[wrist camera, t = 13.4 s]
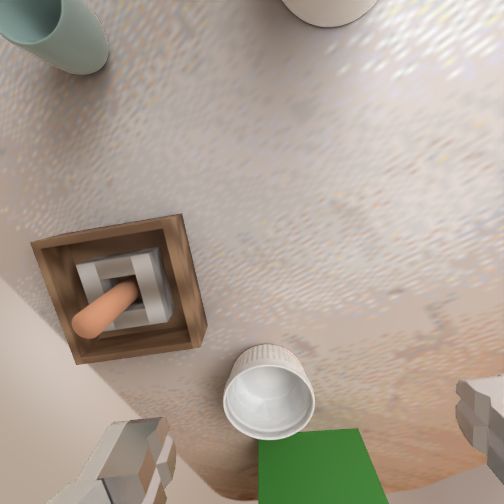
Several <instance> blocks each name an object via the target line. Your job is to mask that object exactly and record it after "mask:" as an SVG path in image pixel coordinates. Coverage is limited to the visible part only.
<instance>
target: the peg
mask: <svg viewBox="0 0 504 504" xmlns="http://www.w3.org/2000/svg"><path fill="white" fill-rule="evenodd" d="M140 295H141V292H140V288H139V285H138V281H137V278H136V275H130V276H129V277H127V278H126V279H124V280H123V281H122V282H120V283H119V284H117V285H116V286H115V287H113V288H112V289H111V290H109V291H108V292H106V293H105V294H104V295H102V296H101V297H99V298H98V299H97V300H95V301H94V302H93V303H91V304H90V305H88V306H87V307H86V308H84V309H83V310H81V311H80V312H79V313H77V314H76V315H75V316H74V317H73V319H72V328H73V330H74V331H75V333H76V334H77V335H79V336H80V337H82V338H86V339H92V338H95V337H97V336H98V335H99V334H100V333H101V332H102V331H103V330H104V329H105V328H106V327H107V326H109V325H110V324H111V323H112V322H113V321H114V320H115V319H116V318H117V317H118V316H119V315H120V314H121V313H122V312H123V311H124V310H125V309H126V308H127V307H129V306H130V305H131V304H132V303H133V302H134V301H135V300H136V299H137V298H138V297H139V296H140Z"/></svg>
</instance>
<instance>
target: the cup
mask: <svg viewBox="0 0 504 504" xmlns="http://www.w3.org/2000/svg"><path fill="white" fill-rule="evenodd" d="M0 34H1V35H2V36H3V37H4V38H5V39H7V40H8V41H10V42H11V43H12V44H14V45H15V46H17V47H19V48H20V49H22V50H24V51H25V52H27V53H29V54H31V55H32V56H34V57H36V58H38V59H40V60H41V61H43V62H45V63H47V64H49V65H51V66H53V67H55V68H58V69H60V70H63V71H65V72H68V73H71V74H77V75H88V74H92V73H94V72H96V71H98V70H100V69H101V68H102V67H103V66H104V65H105V63H106V61H107V59H108V54H109V46H108V40H107V37H106V33H105V31H104V29H103V26H102V24H101V22H100V21H99V19H98V17H97V16H96V14H95V13H94V11H93V10H92V8H91V7H90V6H89V5H88V3H87V2H86V1H85V0H0Z"/></svg>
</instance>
